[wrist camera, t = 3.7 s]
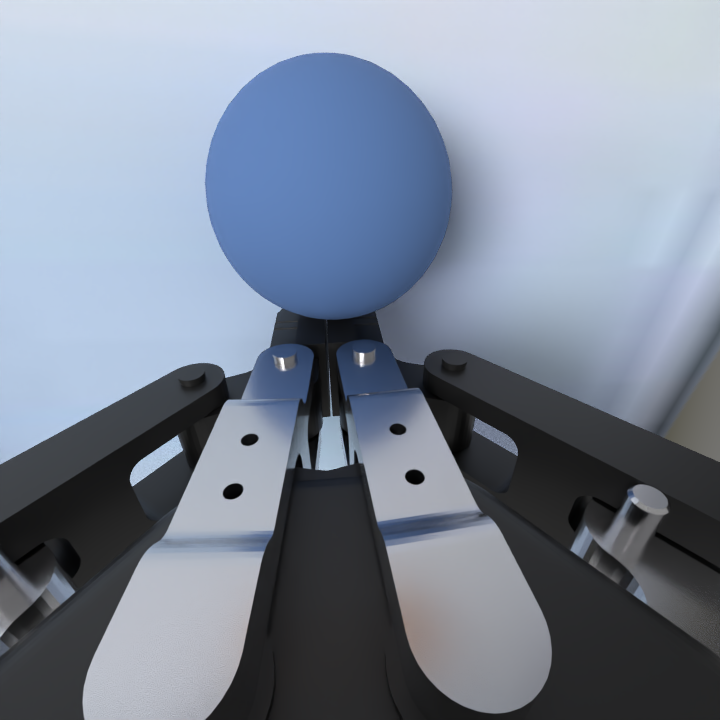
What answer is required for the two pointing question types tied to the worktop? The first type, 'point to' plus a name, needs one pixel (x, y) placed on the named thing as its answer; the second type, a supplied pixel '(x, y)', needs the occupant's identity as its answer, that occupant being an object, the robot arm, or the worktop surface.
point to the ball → (328, 186)
